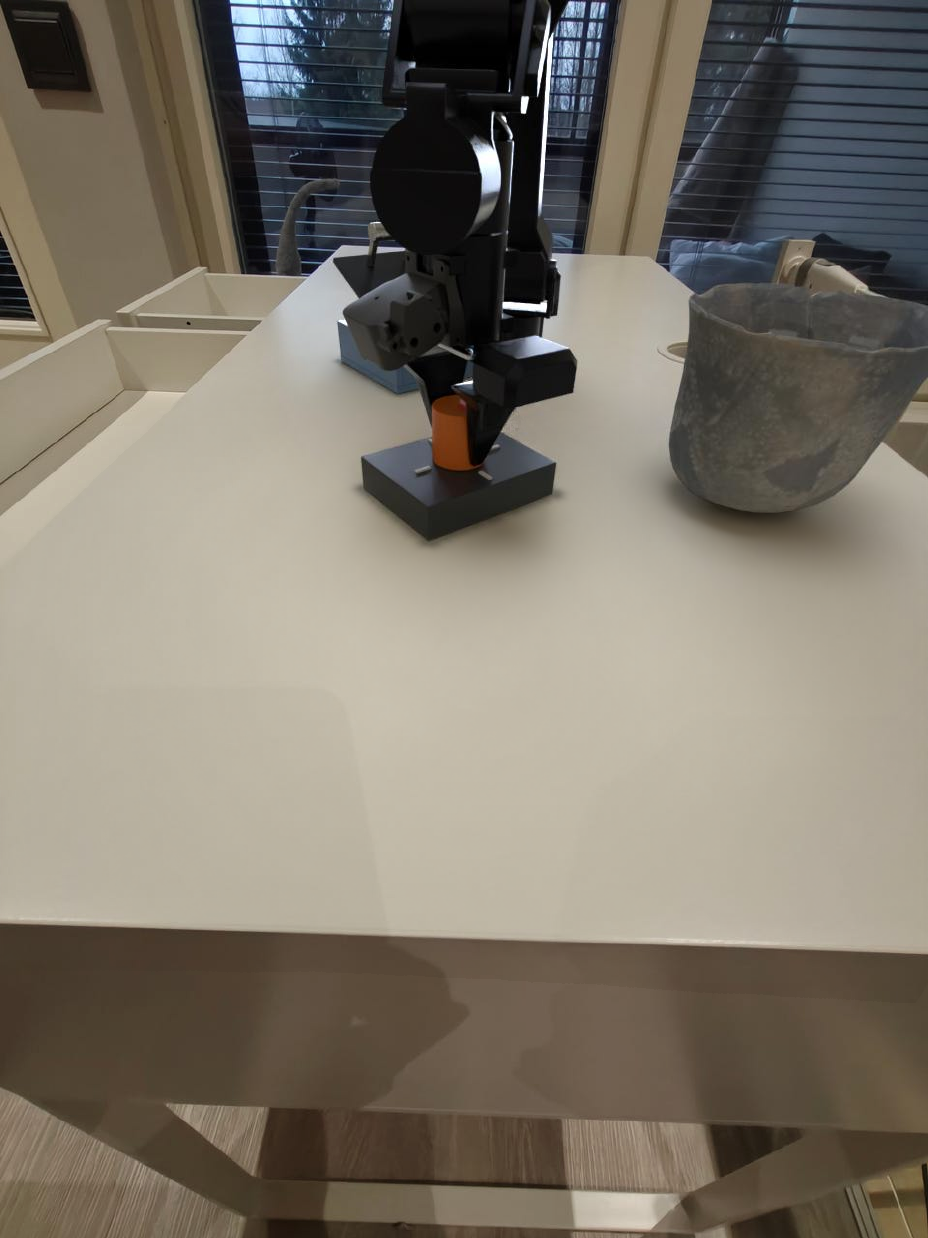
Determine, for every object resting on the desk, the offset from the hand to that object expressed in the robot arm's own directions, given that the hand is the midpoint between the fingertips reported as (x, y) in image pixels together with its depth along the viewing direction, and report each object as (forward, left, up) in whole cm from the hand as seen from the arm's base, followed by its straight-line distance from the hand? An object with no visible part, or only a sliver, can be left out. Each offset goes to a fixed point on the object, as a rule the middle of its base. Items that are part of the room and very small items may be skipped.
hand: (458, 453), depth 49 cm
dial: (0, 0, 0) cm, 0 cm away
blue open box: (-14, -29, -4) cm, 32 cm away
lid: (-14, -29, +5) cm, 32 cm away
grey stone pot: (-21, +15, -4) cm, 26 cm away
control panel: (0, 0, -4) cm, 4 cm away
